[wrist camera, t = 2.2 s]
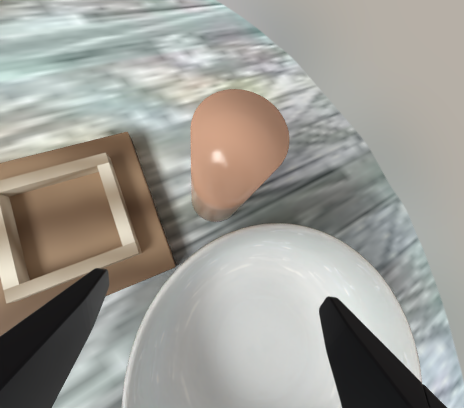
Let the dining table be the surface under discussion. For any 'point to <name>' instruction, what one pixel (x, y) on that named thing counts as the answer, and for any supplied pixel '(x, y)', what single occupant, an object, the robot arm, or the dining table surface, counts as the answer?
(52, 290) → the display stand
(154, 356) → the serving bowl
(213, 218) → the peach rounded block
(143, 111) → the dining table surface
